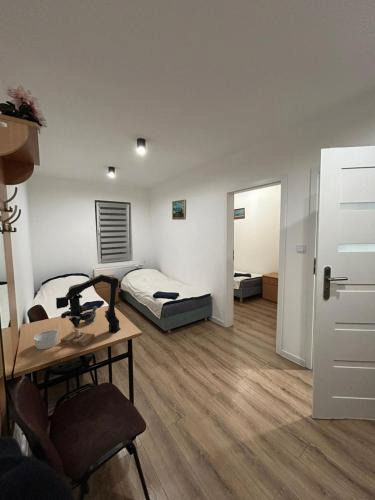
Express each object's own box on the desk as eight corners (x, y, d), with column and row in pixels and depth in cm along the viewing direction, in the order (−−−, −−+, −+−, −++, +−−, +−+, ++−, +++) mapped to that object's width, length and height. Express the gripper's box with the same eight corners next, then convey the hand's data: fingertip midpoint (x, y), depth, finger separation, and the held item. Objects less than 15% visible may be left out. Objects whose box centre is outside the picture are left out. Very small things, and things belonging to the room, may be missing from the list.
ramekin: (55, 337, 144) (54, 327, 143) (62, 343, 136) (61, 333, 135) (32, 346, 134) (30, 335, 133) (38, 353, 125) (37, 343, 125)
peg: (81, 339, 140) (80, 328, 139) (78, 342, 137) (77, 330, 136) (77, 339, 141) (76, 328, 140) (74, 341, 138) (73, 330, 137)
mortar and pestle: (82, 325, 160) (81, 310, 158) (82, 320, 168) (81, 306, 166) (98, 322, 164) (97, 307, 163) (97, 317, 173) (96, 304, 171)
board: (94, 338, 141) (94, 334, 141) (84, 346, 132) (84, 342, 131) (72, 335, 146) (72, 331, 145) (60, 343, 136) (60, 339, 135)
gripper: (95, 301, 141) (97, 323, 143) (72, 299, 146) (74, 320, 147) (83, 308, 131) (85, 331, 133) (59, 306, 135) (61, 328, 137)
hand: (77, 327), depth 138 cm, fingers closed
